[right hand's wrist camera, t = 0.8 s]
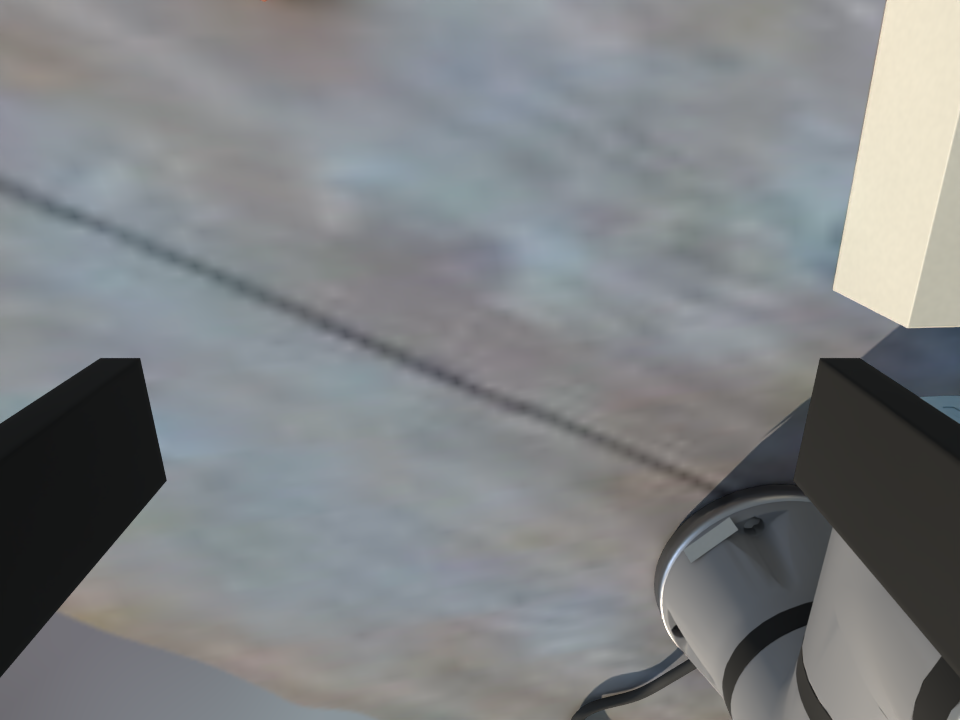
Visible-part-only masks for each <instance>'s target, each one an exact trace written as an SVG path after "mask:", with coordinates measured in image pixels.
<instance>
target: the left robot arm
mask: <svg viewBox="0 0 960 720" xmlns="http://www.w3.org/2000/svg"><path fill="white" fill-rule="evenodd" d="M920 398H921V399H923V400H924V401H926V402H927V403H929V404H930V405H932V406H933V407H935V408H936V409H938V410H939V411H941V412H943V413H944V414H946V415H947V416H949V417H950V418H952V419H953V420H955V421H956V422H958V423H959V424H960V396H928V397H920ZM654 590H655V597H656V601H657V605H658V608H659V610H660V613H661V616H662V619H663V622H664V624H665V627H666V629H667V631H668V633H669V635H670V637H671V638H672V640H673V641H674V642H675V644H676V645H677V646H678V647H679V648H680V649H681V650H682V652H683V653H684V654H685V655H686V656H687V657H688V658H689V659H688V660H687V661H685V662H683V663H682V664H680V665H678V666H677V667H675V668H674V669H672V670H670V671H668V672H667V673H665V674H664V675H662V676H660V677H659V678H657V679H655V680H654V681H652V682H650V683H648V684H646V685H644V686H642V687H640V688H638V689H636V690H633V691H630V692H626V693H623V694H618V695H614V696H610V697H606V698H602V699H599V700H596V701H593V702H591V703H589V704H587V705H585V706H583V707H582V708H581V709H580V710H578V711H577V712H576V713H575V715H574V716H573V717H572V719H571V720H584V719H585V718H586V717H588V716H590V715H591V714H593V713H596V712H598V711H601V710H604V709H608V708H612V707H616V706H621V705H625V704H629V703H632V702H635V701H638V700H641V699H643V698H645V697H648V696H650V695H652V694H653V693H655V692H657V691H659V690H661V689H662V688H664V687H666V686H667V685H669V684H671V683H672V682H674V681H676V680H678V679H679V678H681V677H683V676H684V675H686V674H688V673H689V672H691V671H693V670H694V669H696V668H697V669H698V670H699V671H700V672H701V673H702V674H703V676H704V677H705V678H706V679H707V680H708V681H709V682H710V684H711V685H712V686H713V687H714V688H715V689H716V690H717V692H718V693H719V694H720V695H721V696H722V697H723V699H724V701H725V704H726V706H727V708H728V711H729V713H730V716H731V718H732V720H960V677H959V676H958V675H957V674H956V672H955V671H954V670H953V669H952V668H951V667H950V665H949V664H948V663H947V662H946V661H945V659H944V658H943V657H942V656H941V655H940V654H939V652H938V651H937V650H936V649H935V648H934V646H933V645H932V644H931V643H930V642H929V641H928V639H927V638H926V637H925V636H924V635H923V633H922V632H921V631H920V630H919V629H918V627H917V626H916V625H915V624H914V623H913V622H912V620H911V619H910V618H909V617H908V616H907V614H906V613H905V612H904V611H903V610H902V609H901V607H900V606H899V605H898V604H897V603H896V601H895V600H894V599H893V598H892V597H891V596H890V594H889V593H888V592H887V591H886V590H885V588H884V587H883V586H882V585H881V584H880V583H879V581H878V580H877V579H876V578H875V577H874V575H873V574H872V573H871V572H870V571H869V570H868V568H867V567H866V566H865V565H864V564H863V562H862V561H861V560H860V559H859V558H858V556H857V555H856V554H855V553H854V552H853V551H852V549H851V548H850V547H849V546H848V545H847V543H846V542H845V541H844V540H843V539H842V538H841V536H840V535H839V534H838V533H837V532H836V530H835V529H834V528H833V527H832V526H831V525H830V523H829V522H828V521H827V520H826V519H825V517H824V516H823V515H822V514H821V513H820V512H819V510H818V509H817V508H816V507H815V506H814V504H813V503H812V502H811V501H810V500H809V499H808V497H807V496H806V495H805V494H804V493H803V491H802V490H801V489H800V488H799V487H798V486H796V485H766V486H758V487H753V488H748V489H744V490H741V491H737V492H734V493H732V494H729V495H726V496H724V497H722V498H720V499H718V500H715V501H714V502H712V503H710V504H708V505H707V506H705V507H703V508H702V509H700V510H699V511H697V512H696V513H695V514H693V515H692V516H691V517H690V518H689V519H687V520H686V521H685V522H684V523H683V524H682V525H681V526H680V527H679V528H678V529H677V531H676V532H675V533H674V534H673V535H672V537H671V538H670V540H669V541H668V542H667V544H666V546H665V548H664V549H663V551H662V553H661V556H660V558H659V561H658V564H657V567H656V572H655V580H654Z"/></svg>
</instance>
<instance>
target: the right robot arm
mask: <svg viewBox="0 0 960 720" xmlns="http://www.w3.org/2000/svg"><path fill="white" fill-rule="evenodd" d="M166 481H167V480H166V475H165V471H164V466H163V462H162V457H161V452H160V448H159V443H158V438H157V434H156V429H155V425H154V420H153V415H152V411H151V406H150V402H149V397H148V392H147V388H146V383H145V379H144V374H143V369H142V365H141V360H140V358H100V359H98V360H97V361H95V362H94V363H92V364H91V365H89V366H88V367H86V368H85V369H83V370H82V371H80V372H79V373H77V374H76V375H74V376H72V377H71V378H69V379H68V380H66V381H65V382H63V383H62V384H60V385H59V386H57V387H56V388H54V389H53V390H51V391H50V392H48V393H46V394H45V395H43V396H42V397H40V398H39V399H37V400H36V401H34V402H33V403H31V404H30V405H28V406H27V407H25V408H24V409H22V410H21V411H19V412H17V413H16V414H14V415H13V416H11V417H10V418H8V419H7V420H5V421H4V422H2V423H1V424H0V677H1V676H2V675H3V674H4V672H5V671H6V670H7V669H8V668H9V667H10V665H11V664H12V663H13V662H14V661H15V659H16V658H17V657H18V656H19V655H20V654H21V652H22V651H23V650H24V649H25V648H26V646H27V645H28V644H29V643H30V642H31V640H32V639H33V638H34V637H35V636H36V635H37V633H38V632H39V631H40V630H41V629H42V627H43V626H44V625H45V624H46V623H47V621H48V620H49V619H50V618H51V617H52V616H53V614H54V613H55V612H56V611H57V610H58V609H59V607H60V606H61V605H62V604H63V603H64V601H65V600H66V599H67V598H68V597H69V596H70V594H71V593H72V592H73V591H74V590H75V588H76V587H77V586H78V585H79V584H80V583H81V581H82V580H83V579H84V578H85V577H86V575H87V574H88V573H89V572H90V571H91V570H92V568H93V567H94V566H95V565H96V564H97V562H98V561H99V560H100V559H101V558H102V556H103V555H104V554H105V553H106V552H107V551H108V549H109V548H110V547H111V546H112V545H113V543H114V542H115V541H116V540H117V539H118V538H119V536H120V535H121V534H122V533H123V532H124V530H125V529H126V528H127V527H128V526H129V525H130V523H131V522H132V521H133V520H134V519H135V517H136V516H137V515H138V514H139V513H140V512H141V510H142V509H143V508H144V507H145V506H146V504H147V503H148V502H149V501H150V500H151V499H152V497H153V496H154V495H155V494H156V493H157V491H158V490H159V489H160V488H161V487H162V486H163V484H164V483H165V482H166ZM793 481H794V482H795V483H796V484H797V486H798V487H799V488H800V489H801V490H802V491H803V493H804V494H805V495H806V496H807V497H808V499H809V500H810V501H811V502H812V503H813V504H814V506H815V507H816V508H817V509H818V510H819V512H820V513H821V514H822V515H823V516H824V517H825V519H826V520H827V521H828V522H829V523H830V525H831V526H832V527H833V528H834V529H835V530H836V532H837V533H838V534H839V535H840V536H841V538H842V539H843V540H844V541H845V542H846V543H847V545H848V546H849V547H850V548H851V549H852V551H853V552H854V553H855V554H856V555H857V556H858V558H859V559H860V560H861V561H862V562H863V564H864V565H865V566H866V567H867V568H868V570H869V571H870V572H871V573H872V574H873V575H874V577H875V578H876V579H877V580H878V581H879V583H880V584H881V585H882V586H883V587H884V588H885V590H886V591H887V592H888V593H889V594H890V596H891V597H892V598H893V599H894V600H895V601H896V603H897V604H898V605H899V606H900V607H901V609H902V610H903V611H904V612H905V613H906V614H907V616H908V617H909V618H910V619H911V620H912V622H913V623H914V624H915V625H916V626H917V627H918V629H919V630H920V631H921V632H922V633H923V635H924V636H925V637H926V638H927V639H928V641H929V642H930V643H931V644H932V645H933V646H934V648H935V649H936V650H937V651H938V652H939V654H940V655H941V656H942V657H943V658H944V659H945V661H946V662H947V663H948V664H949V665H950V667H951V668H952V669H953V670H954V671H955V672H956V674H957V675H958V676H959V677H960V424H959V423H958V422H956V421H955V420H953V419H952V418H950V417H949V416H947V415H946V414H944V413H943V412H941V411H939V410H938V409H936V408H935V407H933V406H932V405H930V404H929V403H927V402H926V401H924V400H923V399H921V398H920V397H918V396H917V395H915V394H914V393H912V392H910V391H909V390H907V389H906V388H904V387H903V386H901V385H900V384H898V383H897V382H895V381H894V380H892V379H891V378H889V377H888V376H886V375H884V374H883V373H881V372H880V371H878V370H877V369H875V368H874V367H872V366H871V365H869V364H868V363H866V362H865V361H863V360H862V359H860V358H820V360H819V365H818V369H817V374H816V379H815V383H814V388H813V392H812V397H811V402H810V406H809V411H808V415H807V420H806V425H805V429H804V434H803V438H802V443H801V448H800V452H799V457H798V461H797V466H796V471H795V475H794V480H793Z"/></svg>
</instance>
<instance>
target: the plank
mask: <svg viewBox="0 0 960 720" xmlns="http://www.w3.org/2000/svg"><path fill="white" fill-rule="evenodd" d="M833 290H834V291H836V292H838V293H840V294H842V295H844V296H846V297H848V298H850V299H852V300H854V301H856V302H857V303H859V304H861V305H863V306H865V307H867V308H869V309H871V310H873V311H875V312H877V313H879V314H881V315H883V316H885V317H887V318H889V319H891V320H893V321H895V322H896V323H898V324H900V325H902V326H904V327H906V328H932V327H960V0H887V2H886V8H885V13H884V18H883V24H882V29H881V34H880V40H879V45H878V50H877V56H876V61H875V66H874V72H873V77H872V82H871V88H870V93H869V98H868V104H867V109H866V114H865V120H864V125H863V130H862V136H861V141H860V147H859V152H858V157H857V163H856V168H855V173H854V179H853V184H852V189H851V195H850V200H849V205H848V211H847V216H846V221H845V227H844V232H843V237H842V243H841V248H840V253H839V259H838V264H837V269H836V275H835V280H834V285H833Z"/></svg>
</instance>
